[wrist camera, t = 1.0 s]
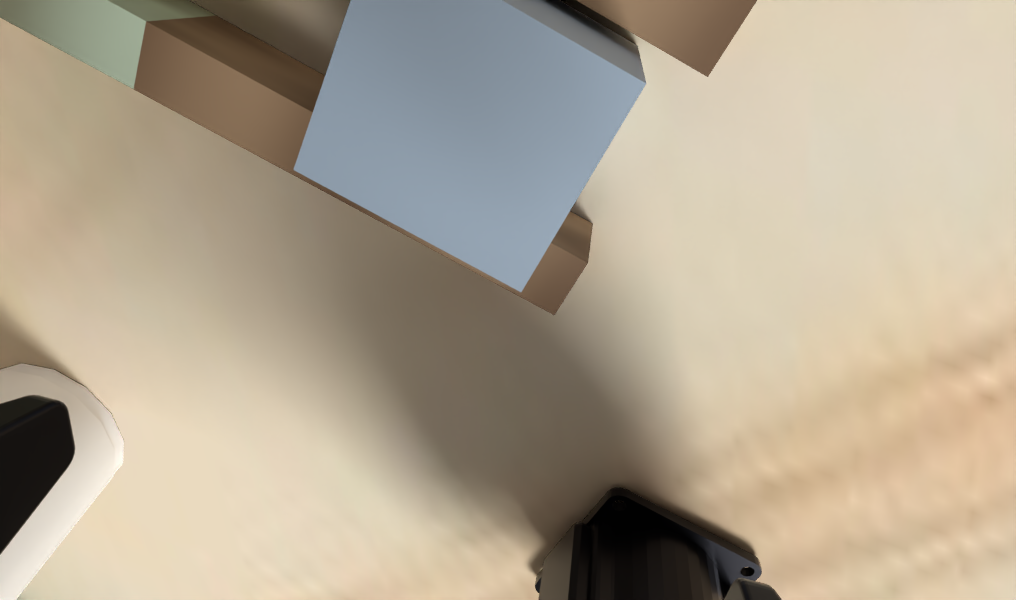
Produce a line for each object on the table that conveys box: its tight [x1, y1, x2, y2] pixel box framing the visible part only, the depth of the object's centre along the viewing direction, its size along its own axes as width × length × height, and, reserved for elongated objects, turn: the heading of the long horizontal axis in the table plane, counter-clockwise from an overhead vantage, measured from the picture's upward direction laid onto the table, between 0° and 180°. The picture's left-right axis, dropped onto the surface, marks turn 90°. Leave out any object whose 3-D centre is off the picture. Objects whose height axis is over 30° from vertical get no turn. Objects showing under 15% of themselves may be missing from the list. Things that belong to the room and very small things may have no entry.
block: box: [294, 0, 646, 292], centre depth 14 cm, size 5×4×7 cm
